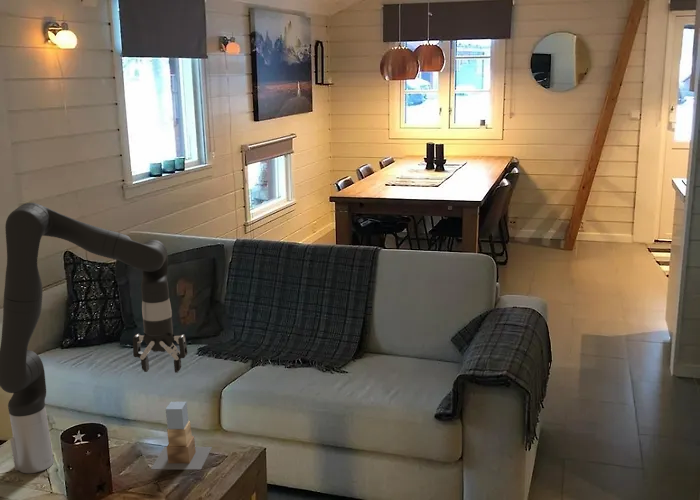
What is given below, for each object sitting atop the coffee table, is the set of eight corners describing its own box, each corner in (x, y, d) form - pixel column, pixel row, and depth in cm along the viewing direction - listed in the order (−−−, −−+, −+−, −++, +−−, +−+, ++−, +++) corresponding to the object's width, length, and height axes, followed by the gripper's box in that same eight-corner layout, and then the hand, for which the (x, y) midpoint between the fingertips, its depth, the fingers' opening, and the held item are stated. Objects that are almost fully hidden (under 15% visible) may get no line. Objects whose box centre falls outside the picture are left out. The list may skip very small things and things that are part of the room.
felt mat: (150, 471, 203) (150, 469, 203) (164, 448, 215) (164, 446, 215) (201, 471, 202) (200, 469, 202) (212, 448, 214) (212, 446, 213)
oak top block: (168, 446, 205) (167, 429, 204) (174, 437, 210) (172, 420, 208) (186, 446, 204) (185, 429, 203) (191, 437, 209) (190, 420, 208)
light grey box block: (167, 429, 204) (165, 409, 202) (172, 421, 208) (170, 401, 206) (183, 429, 203) (181, 409, 202) (188, 421, 208) (186, 401, 206)
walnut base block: (168, 463, 206) (166, 447, 204) (174, 452, 211) (173, 436, 210) (189, 463, 205) (188, 447, 204) (195, 452, 211) (194, 436, 210)
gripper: (126, 319, 196) (131, 376, 200) (179, 320, 195) (183, 377, 199) (136, 310, 203) (141, 365, 207) (187, 310, 202) (191, 366, 206)
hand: (162, 371), depth 203 cm, fingers open, 8 cm apart
